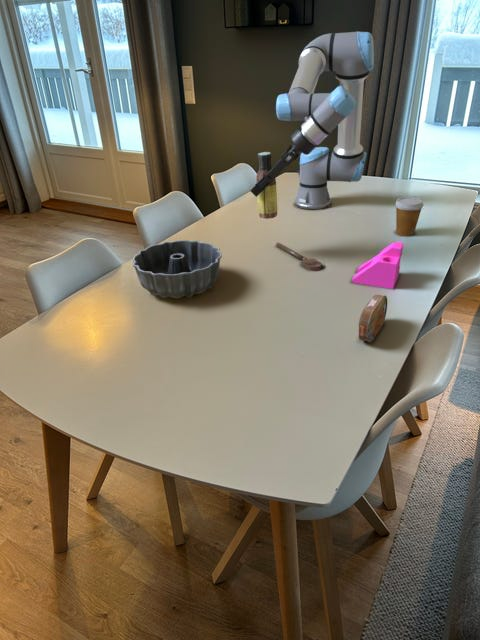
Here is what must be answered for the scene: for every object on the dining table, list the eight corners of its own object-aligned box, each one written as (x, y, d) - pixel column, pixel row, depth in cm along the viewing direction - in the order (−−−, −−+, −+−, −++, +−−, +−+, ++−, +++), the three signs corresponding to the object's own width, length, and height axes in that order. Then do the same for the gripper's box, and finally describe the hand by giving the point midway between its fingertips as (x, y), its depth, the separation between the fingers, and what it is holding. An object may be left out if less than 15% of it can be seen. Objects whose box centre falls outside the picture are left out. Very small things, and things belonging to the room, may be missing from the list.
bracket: (398, 274, 143) (403, 242, 138) (393, 288, 135) (397, 256, 130) (359, 268, 148) (362, 237, 142) (351, 282, 140) (354, 250, 134)
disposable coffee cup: (415, 228, 175) (420, 196, 168) (421, 237, 167) (427, 204, 160) (389, 228, 176) (393, 196, 169) (394, 237, 168) (398, 205, 161)
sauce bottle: (279, 213, 154) (279, 151, 144) (274, 220, 149) (273, 155, 139) (260, 212, 156) (258, 150, 146) (255, 218, 151) (252, 155, 141)
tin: (367, 348, 110) (370, 318, 106) (354, 345, 112) (357, 315, 108) (386, 319, 121) (390, 290, 117) (374, 316, 123) (378, 288, 118)
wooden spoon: (270, 247, 165) (270, 243, 164) (282, 244, 167) (282, 240, 166) (311, 271, 147) (311, 267, 146) (324, 267, 149) (325, 263, 148)
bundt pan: (187, 260, 159) (184, 232, 154) (241, 283, 143) (240, 252, 137) (120, 287, 144) (114, 258, 139) (172, 316, 127) (168, 284, 122)
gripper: (304, 121, 144) (254, 174, 156) (294, 132, 128) (240, 190, 141) (320, 139, 145) (269, 190, 158) (313, 153, 130) (257, 208, 142)
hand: (256, 190), depth 149 cm, fingers closed on sauce bottle, 6 cm apart
